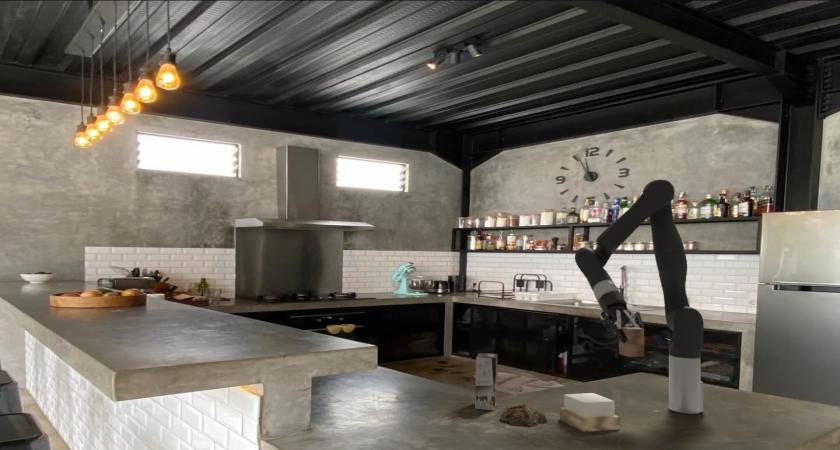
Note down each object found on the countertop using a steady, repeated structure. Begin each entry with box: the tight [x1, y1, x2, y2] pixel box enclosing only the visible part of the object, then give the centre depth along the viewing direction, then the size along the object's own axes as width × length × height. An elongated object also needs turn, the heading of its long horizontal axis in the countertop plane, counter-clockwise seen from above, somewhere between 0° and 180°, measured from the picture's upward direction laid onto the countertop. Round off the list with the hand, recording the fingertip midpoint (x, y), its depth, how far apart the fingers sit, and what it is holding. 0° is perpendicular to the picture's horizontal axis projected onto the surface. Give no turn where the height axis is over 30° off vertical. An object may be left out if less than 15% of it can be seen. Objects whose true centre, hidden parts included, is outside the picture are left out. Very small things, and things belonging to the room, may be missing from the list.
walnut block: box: [618, 326, 645, 358], centre depth 169 cm, size 5×5×8 cm
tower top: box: [563, 392, 616, 418], centre depth 164 cm, size 10×10×4 cm
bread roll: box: [500, 403, 548, 427], centre depth 166 cm, size 13×12×5 cm
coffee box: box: [474, 352, 498, 411], centre depth 181 cm, size 9×6×16 cm
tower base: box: [559, 407, 621, 433], centre depth 164 cm, size 12×12×4 cm
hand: (633, 341), depth 168 cm, fingers closed on walnut block, 5 cm apart
